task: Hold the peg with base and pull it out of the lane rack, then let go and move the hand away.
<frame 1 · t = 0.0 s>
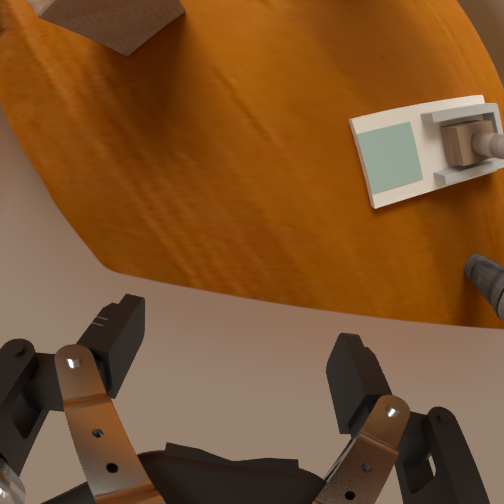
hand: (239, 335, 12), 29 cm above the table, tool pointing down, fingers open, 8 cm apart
peg with base: (487, 144, 28), point 8 cm above the table, slide at 0.0 cm
wooden block: (138, 14, 30), on the table
lane rack: (434, 144, 36), on the table
beverage cup: (473, 265, 43), on the table
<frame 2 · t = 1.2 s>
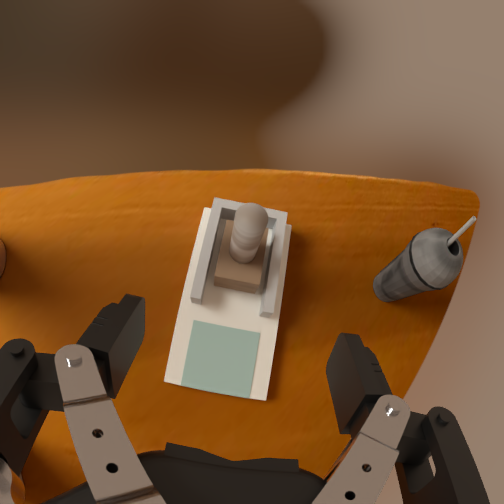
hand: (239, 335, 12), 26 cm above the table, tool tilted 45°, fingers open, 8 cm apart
peg with base: (244, 243, 33), point 8 cm above the table, slide at 0.0 cm
lane rack: (232, 297, 39), on the table
beverage cup: (385, 287, 42), on the table
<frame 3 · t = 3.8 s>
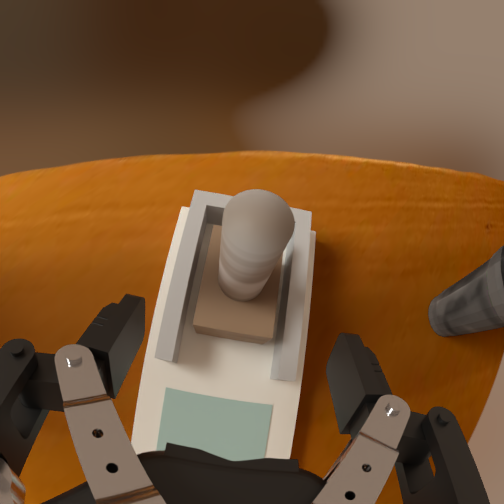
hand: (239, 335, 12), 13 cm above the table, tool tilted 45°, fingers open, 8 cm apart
peg with base: (244, 268, 18), point 8 cm above the table, slide at 0.0 cm
lane rack: (226, 348, 24), on the table
beverage cup: (442, 316, 27), on the table
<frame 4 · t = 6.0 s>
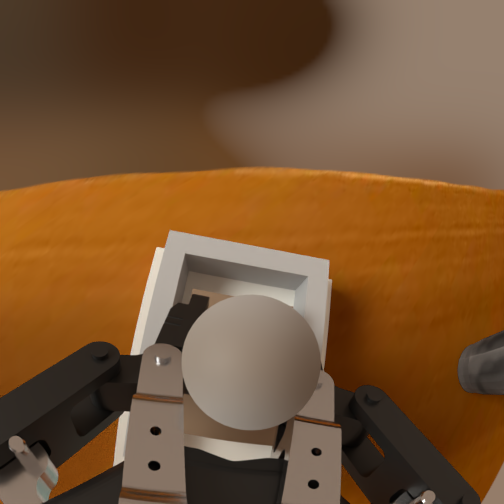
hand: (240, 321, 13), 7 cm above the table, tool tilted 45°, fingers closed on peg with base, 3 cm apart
peg with base: (234, 368, 12), point 8 cm above the table, slide at 0.0 cm, touching gripper
lane rack: (216, 429, 17), on the table
beverage cup: (472, 368, 21), on the table
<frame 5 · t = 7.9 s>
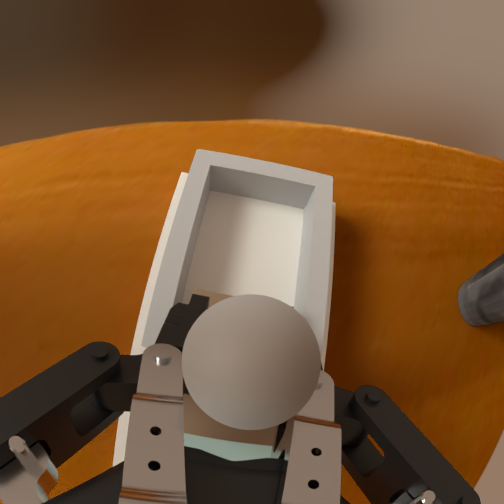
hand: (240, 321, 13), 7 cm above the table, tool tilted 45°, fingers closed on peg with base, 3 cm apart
peg with base: (234, 368, 12), point 8 cm above the table, slide at 6.3 cm, touching gripper
lane rack: (231, 337, 20), on the table
beverage cup: (471, 303, 23), on the table
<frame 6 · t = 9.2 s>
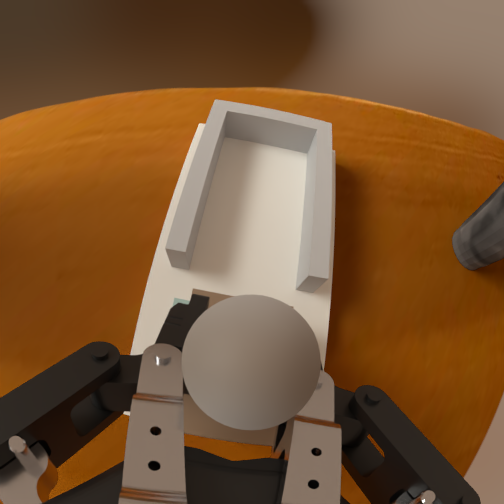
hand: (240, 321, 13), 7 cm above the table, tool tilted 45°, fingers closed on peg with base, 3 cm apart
peg with base: (234, 368, 12), point 8 cm above the table, slide at 11.8 cm, touching gripper
lane rack: (245, 260, 22), on the table
beverage cup: (466, 249, 26), on the table
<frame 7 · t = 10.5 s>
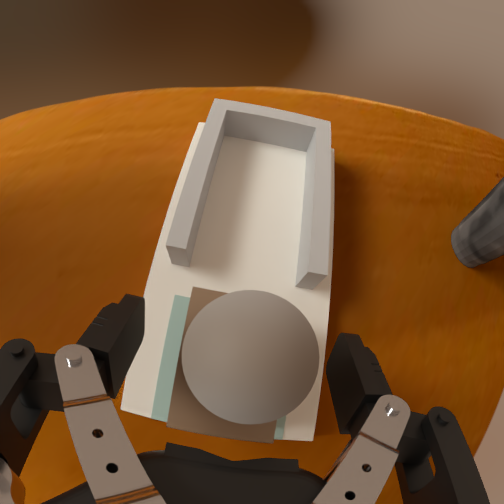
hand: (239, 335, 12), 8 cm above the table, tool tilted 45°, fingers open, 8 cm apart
peg with base: (234, 365, 12), point 8 cm above the table, slide at 12.0 cm
lane rack: (245, 257, 22), on the table
beverage cup: (465, 247, 26), on the table
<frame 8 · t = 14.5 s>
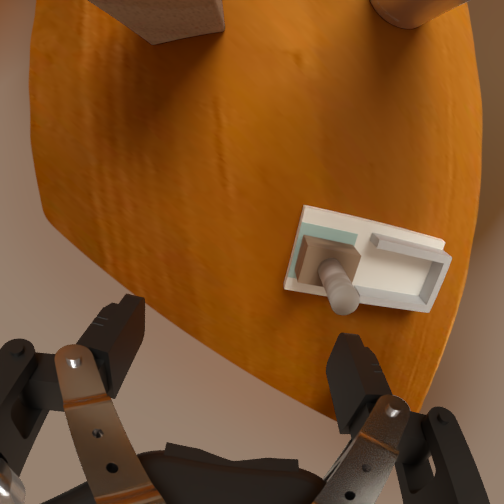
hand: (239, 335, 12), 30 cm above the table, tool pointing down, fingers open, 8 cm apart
peg with base: (333, 276, 36), point 8 cm above the table, slide at 12.0 cm
wooden block: (185, 8, 31), on the table
lane rack: (370, 261, 43), on the table
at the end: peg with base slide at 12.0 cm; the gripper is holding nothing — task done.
